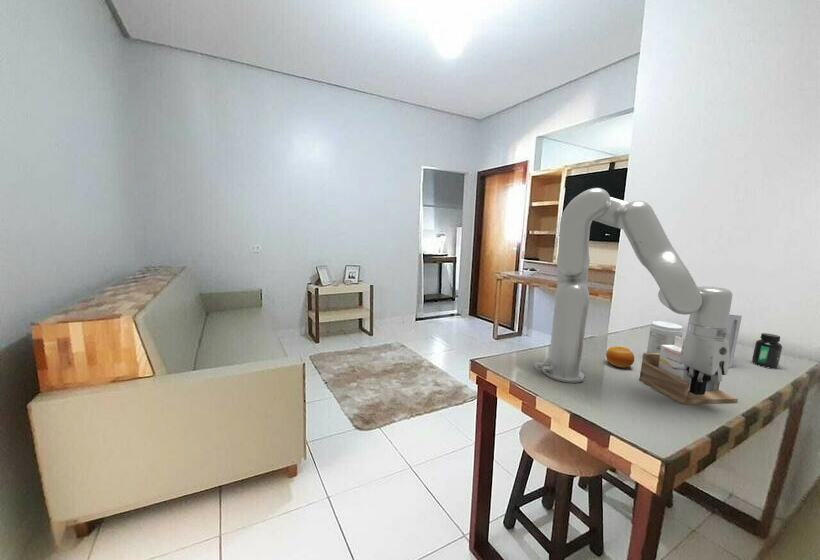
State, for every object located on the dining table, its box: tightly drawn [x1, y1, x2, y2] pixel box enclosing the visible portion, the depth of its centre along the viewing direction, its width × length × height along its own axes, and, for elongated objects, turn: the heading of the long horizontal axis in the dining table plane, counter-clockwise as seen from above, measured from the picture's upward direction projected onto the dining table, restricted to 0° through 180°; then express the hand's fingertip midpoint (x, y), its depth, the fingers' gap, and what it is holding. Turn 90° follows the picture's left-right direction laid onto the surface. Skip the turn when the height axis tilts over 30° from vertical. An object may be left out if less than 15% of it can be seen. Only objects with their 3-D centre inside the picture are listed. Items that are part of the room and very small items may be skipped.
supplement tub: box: [646, 320, 684, 353], centre depth 122 cm, size 10×10×15 cm
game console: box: [686, 310, 743, 368], centre depth 132 cm, size 6×27×20 cm, turn 157°
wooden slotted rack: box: [639, 352, 739, 405], centre depth 100 cm, size 18×15×11 cm
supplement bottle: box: [751, 332, 783, 369], centre depth 123 cm, size 7×7×12 cm
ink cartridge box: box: [658, 336, 691, 391], centre depth 100 cm, size 9×5×15 cm, turn 7°
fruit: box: [605, 346, 635, 368], centre depth 118 cm, size 8×8×8 cm
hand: (696, 393), depth 93 cm, fingers closed
